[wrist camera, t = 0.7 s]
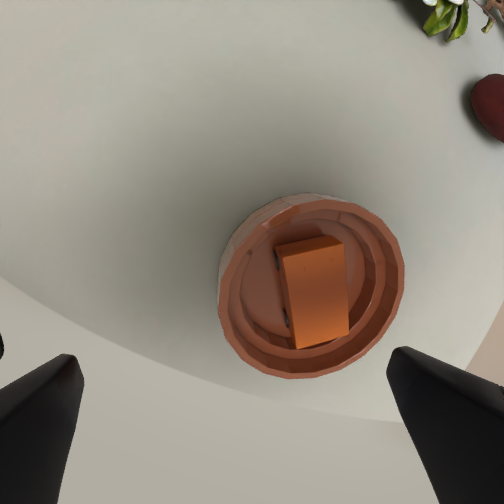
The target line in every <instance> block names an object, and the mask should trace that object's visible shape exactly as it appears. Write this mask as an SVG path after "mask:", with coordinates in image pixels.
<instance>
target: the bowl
mask: <svg viewBox="0 0 504 504" xmlns="http://www.w3.org/2000/svg"><path fill="white" fill-rule="evenodd" d="M329 234H330V235H332V236H333V237H335V238H336V239H338V240H339V241H341V242H342V243H343V244H344V252H345V264H346V278H347V295H348V317H349V334H348V335H346V336H342V337H339V338H336V339H333V340H329V341H326V342H322V343H319V344H315V345H312V346H308V347H304V348H301V349H296V346H295V344H294V342H293V339H292V337H291V335H290V332H289V328H287V327H286V325H285V322H284V318H283V310H286V308H285V302H284V296H283V290H282V284H281V278H280V272H279V271H277V270H276V268H275V264H274V260H273V251H275V250H276V249H275V247H276V246H280V245H284V244H289V243H293V242H298V241H302V240H307V239H311V238H316V237H320V236H325V235H329ZM404 273H405V265H404V261H403V258H402V254H401V251H400V248H399V245H398V241H397V239H396V238H395V236H394V235H393V234H392V232H391V231H390V230H389V228H388V227H387V226H386V224H385V223H384V222H383V221H382V219H380V218H379V217H378V216H376V215H374V214H373V213H371V212H369V211H368V210H366V209H364V208H363V207H361V206H359V205H357V204H355V203H352V202H349V201H346V200H343V199H340V198H337V197H334V196H328V195H321V194H314V193H302V194H297V195H291V196H286V197H281V198H279V199H276V200H274V201H273V202H271V203H269V204H267V205H265V206H264V207H262V208H260V209H258V210H257V211H255V212H253V213H252V214H251V215H250V216H249V217H248V218H247V219H246V220H245V221H244V222H243V223H242V224H241V225H240V227H239V228H238V229H237V230H236V231H235V232H234V233H233V234H232V236H231V238H230V240H229V242H228V244H227V246H226V249H225V251H224V253H223V255H222V258H221V260H220V263H219V274H218V285H217V296H218V315H219V318H220V322H221V325H222V328H223V332H224V335H225V338H226V340H227V341H228V343H229V344H230V345H231V346H232V348H233V349H234V350H235V352H236V353H237V354H238V355H239V357H240V358H241V359H242V360H243V361H245V362H246V363H248V364H249V365H251V366H253V367H254V368H256V369H258V370H259V371H261V372H262V373H265V374H269V375H273V376H277V377H281V378H285V379H304V378H316V377H319V376H323V375H326V374H329V373H332V372H336V371H339V370H341V369H343V368H344V367H346V366H348V365H350V364H351V363H353V362H355V361H356V360H358V359H360V358H361V357H362V356H364V355H365V354H366V353H367V352H368V351H369V350H370V349H371V348H372V347H373V346H374V345H375V344H376V343H377V342H378V341H379V340H380V339H381V338H382V337H383V335H384V334H385V332H386V331H387V329H388V328H389V326H390V324H391V323H392V321H393V320H394V318H395V315H396V314H397V311H398V308H399V305H400V301H401V298H402V295H403V292H404Z"/></svg>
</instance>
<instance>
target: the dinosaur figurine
mask: <svg viewBox="0 0 504 504" xmlns="http://www.w3.org/2000/svg"><path fill="white" fill-rule="evenodd" d="M493 6H494V7H495V8H496V9H498V10H499V11H500V13H501V16H502V18H503V19H504V0H488V2H487V5H486V6H483V8H484V9H485V10H486V11H487V12H488V13H489V10H490V9H491V8H492V7H493ZM486 11H484V13H485V14H487V16H488V15H489V14H488V13H487V12H486Z"/></svg>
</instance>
